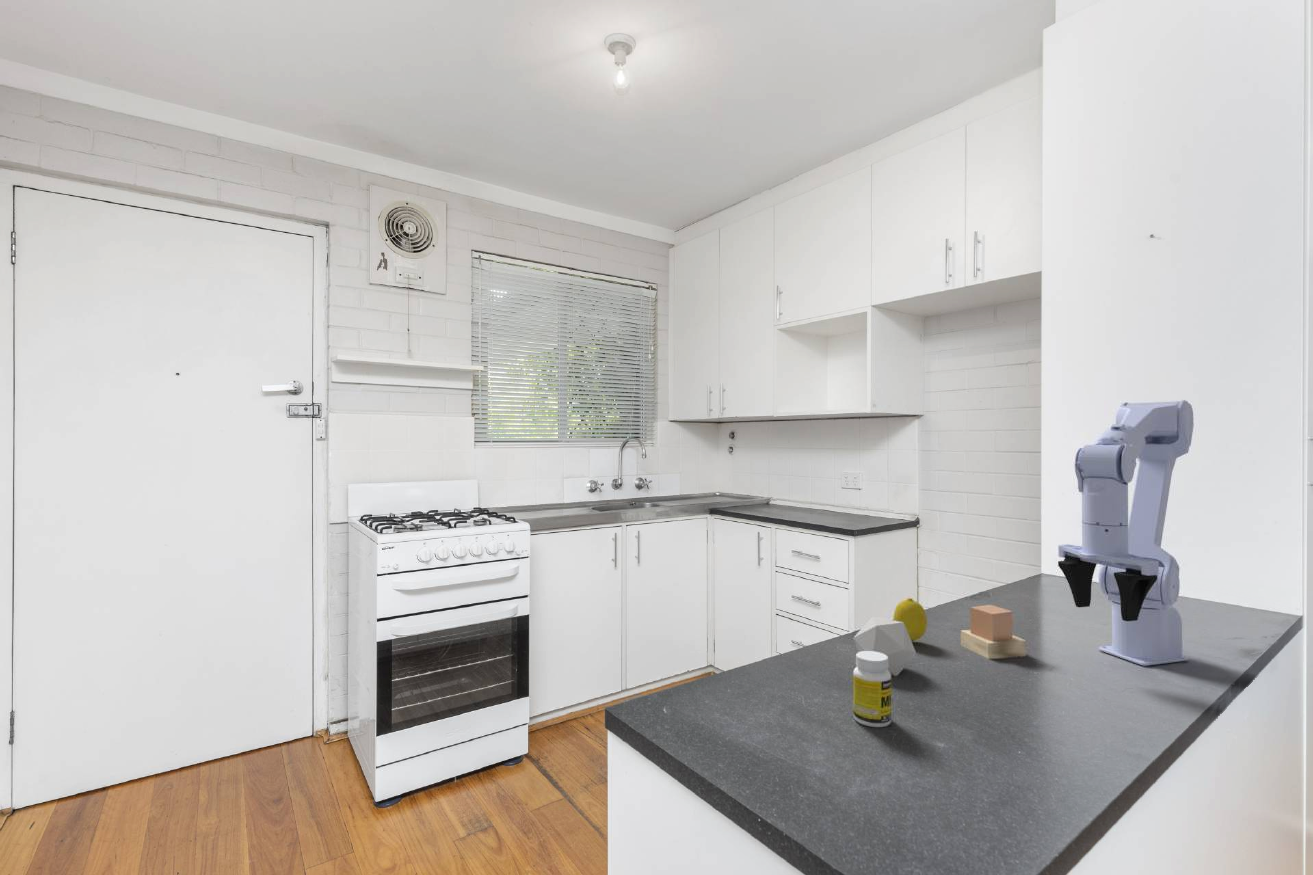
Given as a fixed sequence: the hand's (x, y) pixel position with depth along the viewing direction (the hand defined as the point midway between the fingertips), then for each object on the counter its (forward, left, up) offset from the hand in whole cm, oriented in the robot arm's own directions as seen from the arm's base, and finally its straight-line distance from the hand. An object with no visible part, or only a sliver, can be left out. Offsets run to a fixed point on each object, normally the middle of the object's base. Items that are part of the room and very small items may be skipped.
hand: (1105, 613), depth 95 cm
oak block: (+7, -15, -10) cm, 19 cm away
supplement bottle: (+42, +3, -10) cm, 43 cm away
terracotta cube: (+7, -15, -7) cm, 18 cm away
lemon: (+18, -22, -10) cm, 30 cm away
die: (+30, -12, -10) cm, 34 cm away
